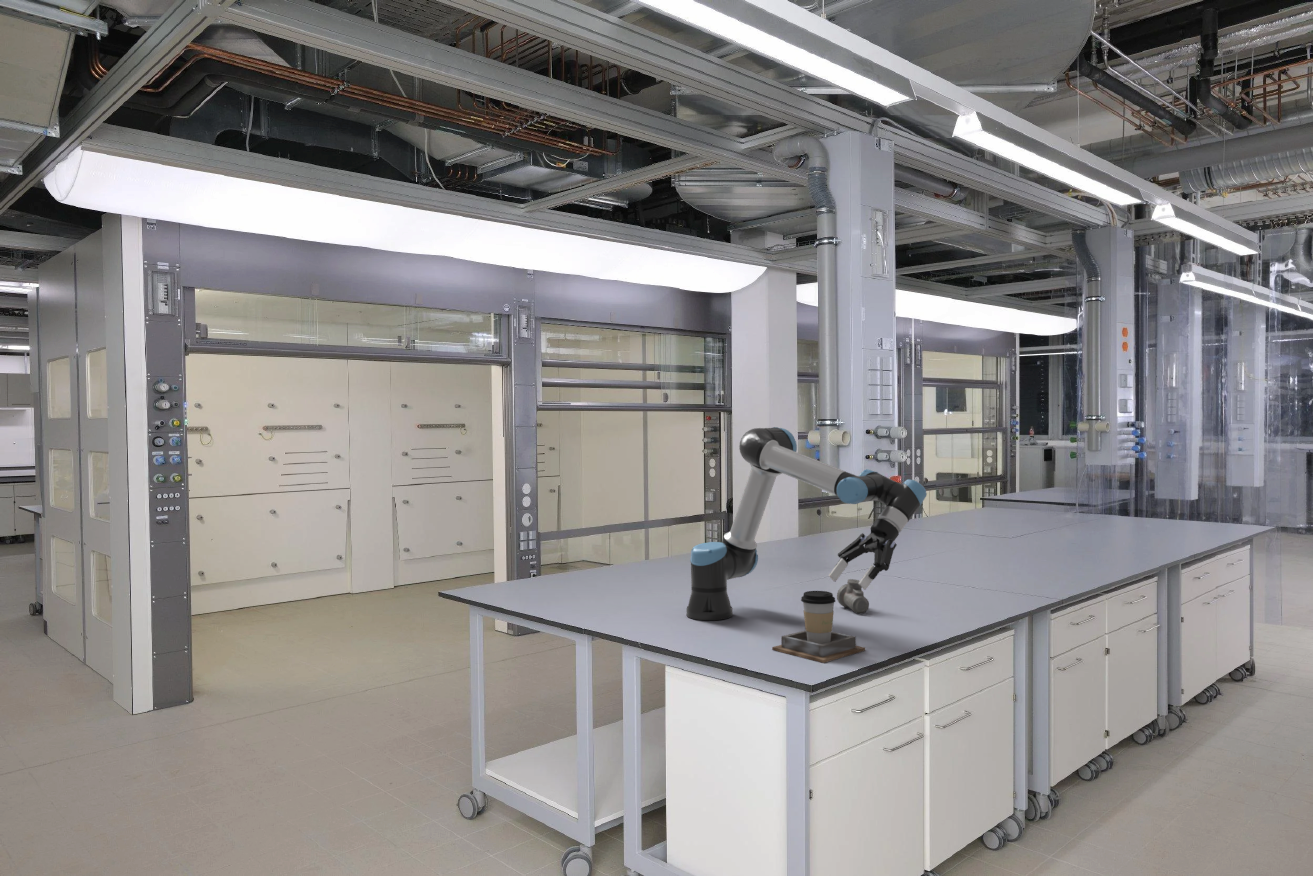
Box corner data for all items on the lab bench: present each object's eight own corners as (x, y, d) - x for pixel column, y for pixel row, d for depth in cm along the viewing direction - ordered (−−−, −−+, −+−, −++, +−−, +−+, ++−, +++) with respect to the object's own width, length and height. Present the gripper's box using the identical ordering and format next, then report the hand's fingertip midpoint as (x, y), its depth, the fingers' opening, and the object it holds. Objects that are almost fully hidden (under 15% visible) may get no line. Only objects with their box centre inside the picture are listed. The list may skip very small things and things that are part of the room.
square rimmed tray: (772, 650, 245) (772, 636, 245) (814, 638, 256) (813, 625, 256) (823, 663, 231) (823, 648, 231) (865, 650, 243) (865, 636, 242)
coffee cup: (833, 653, 238) (832, 597, 237) (798, 650, 241) (797, 595, 240) (838, 644, 246) (837, 591, 246) (804, 642, 250) (804, 589, 249)
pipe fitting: (834, 605, 299) (838, 576, 297) (857, 606, 300) (860, 577, 299) (847, 617, 287) (851, 587, 286) (871, 618, 288) (874, 588, 287)
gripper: (926, 539, 243) (883, 599, 237) (868, 529, 266) (827, 583, 260) (910, 521, 241) (867, 581, 235) (853, 513, 263) (812, 567, 257)
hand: (846, 582), depth 247 cm, fingers open, 13 cm apart
